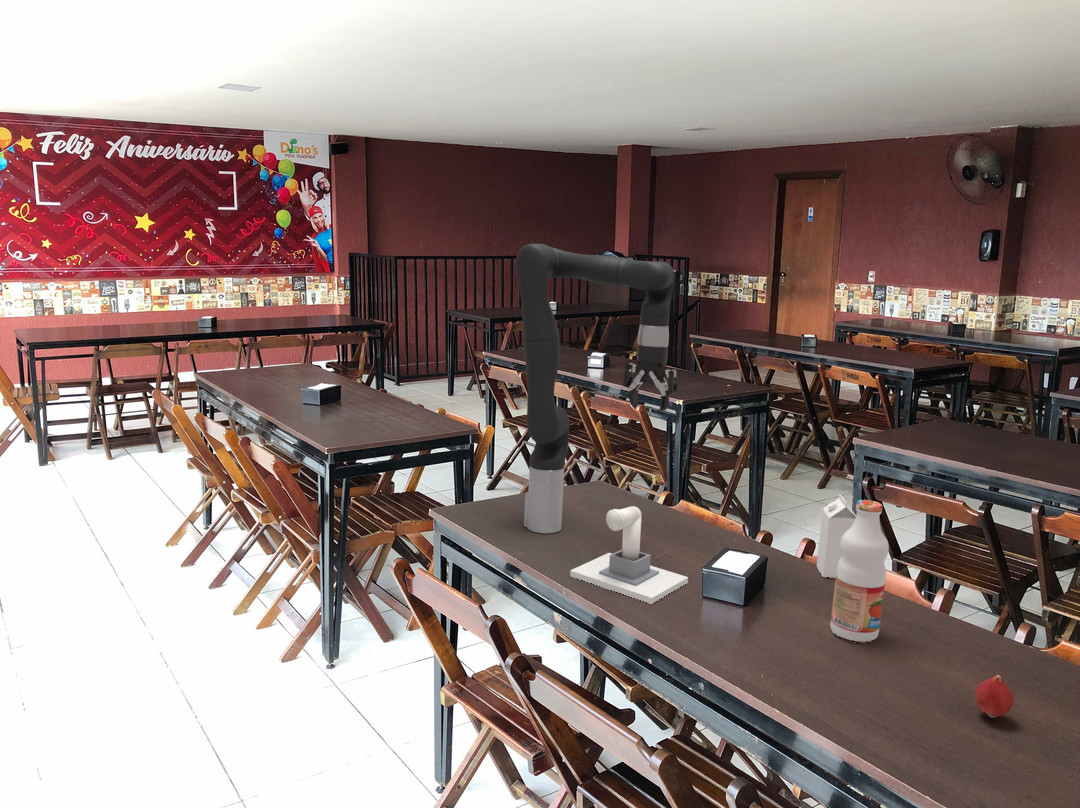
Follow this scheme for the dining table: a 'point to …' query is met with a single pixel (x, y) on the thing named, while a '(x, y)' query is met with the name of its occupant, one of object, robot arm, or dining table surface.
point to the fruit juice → (860, 576)
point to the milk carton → (833, 535)
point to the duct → (630, 576)
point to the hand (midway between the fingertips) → (648, 407)
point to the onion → (994, 697)
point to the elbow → (627, 529)
